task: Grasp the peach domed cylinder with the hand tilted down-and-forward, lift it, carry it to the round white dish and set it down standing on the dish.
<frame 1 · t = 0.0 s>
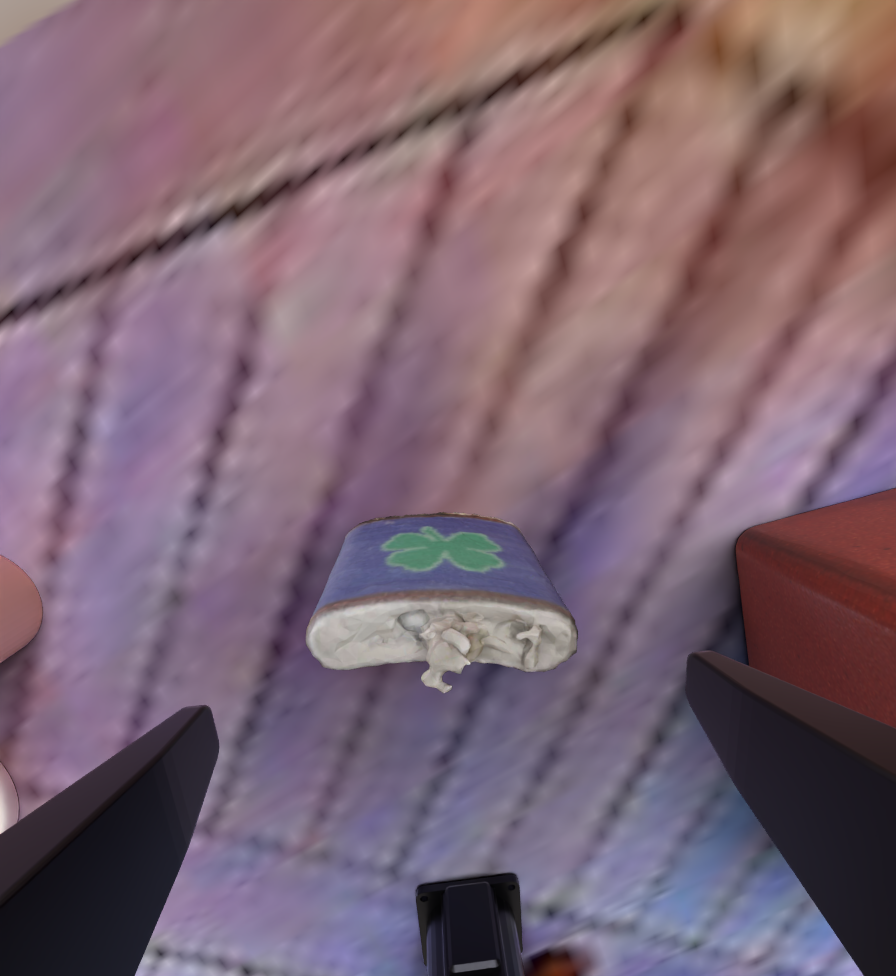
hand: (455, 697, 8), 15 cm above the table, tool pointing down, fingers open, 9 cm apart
flask: (436, 538, 24), on the table
plant pot: (845, 599, 26), on the table
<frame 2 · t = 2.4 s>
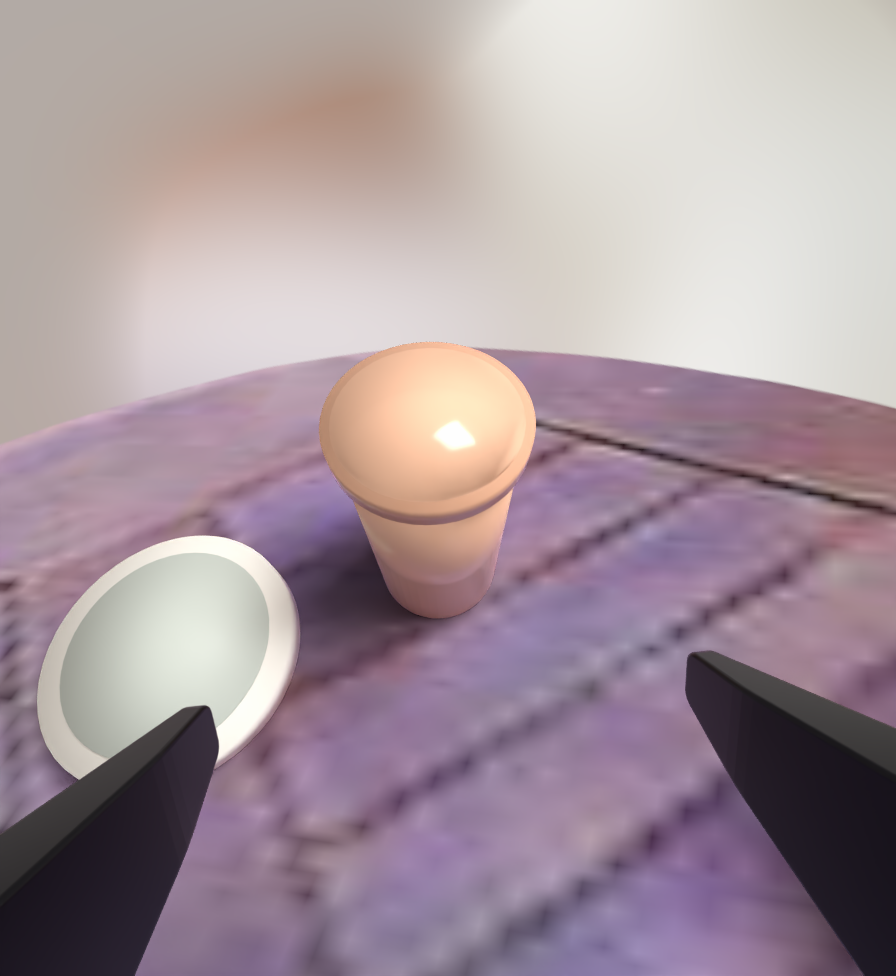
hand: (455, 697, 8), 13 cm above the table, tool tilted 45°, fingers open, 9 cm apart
peach domed cylinder: (438, 561, 24), on the table
round white dish: (185, 652, 22), on the table
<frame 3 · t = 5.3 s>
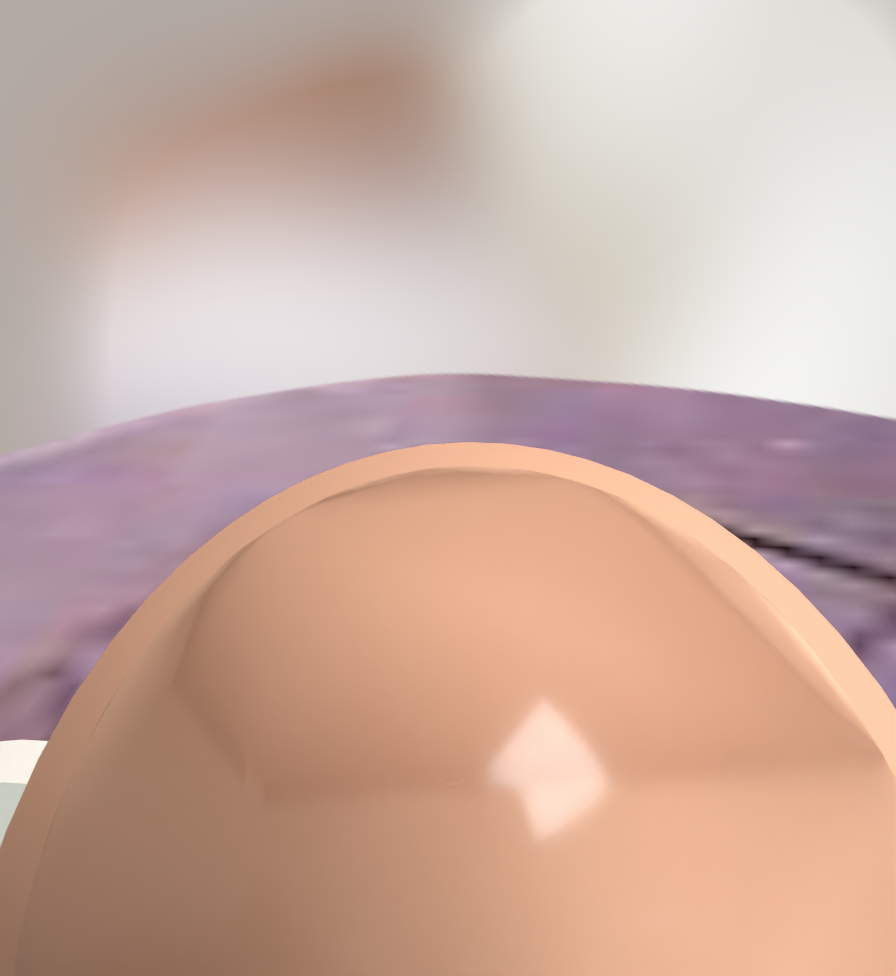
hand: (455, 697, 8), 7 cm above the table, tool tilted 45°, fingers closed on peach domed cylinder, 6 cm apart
peach domed cylinder: (459, 775, 13), on the table, touching gripper
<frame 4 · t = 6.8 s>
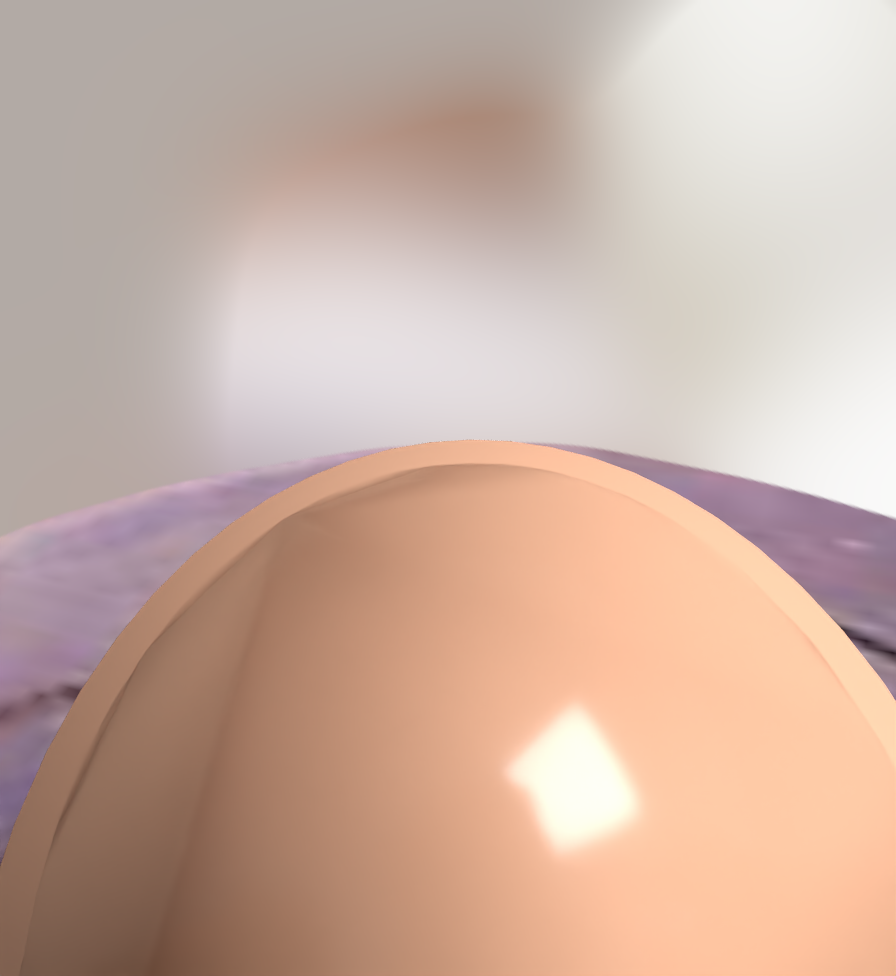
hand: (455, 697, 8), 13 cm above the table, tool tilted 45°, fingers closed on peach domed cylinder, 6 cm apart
peach domed cylinder: (460, 774, 13), point 7 cm above the table, touching gripper
when the fingers open (9 cm above the table, at t = 8.4 s): peach domed cylinder drops 1 cm, resting on round white dish.
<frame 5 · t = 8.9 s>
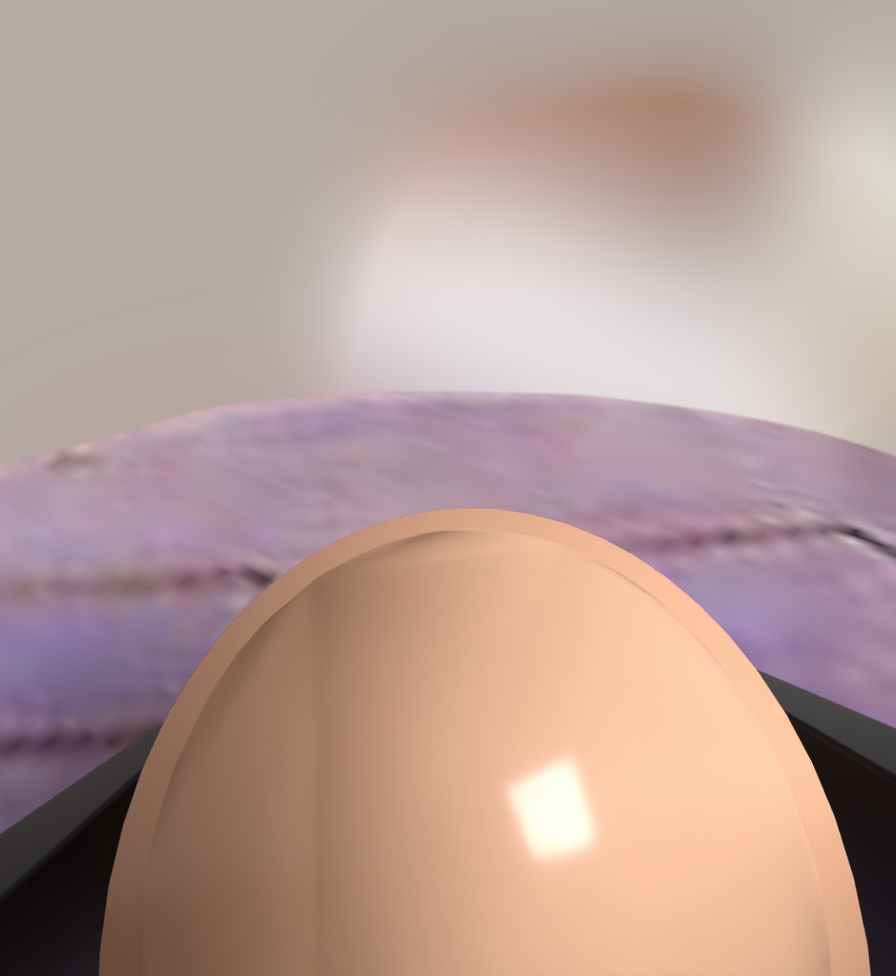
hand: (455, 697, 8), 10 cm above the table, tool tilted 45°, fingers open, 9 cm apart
peach domed cylinder: (459, 777, 15), point 2 cm above the table, touching round white dish
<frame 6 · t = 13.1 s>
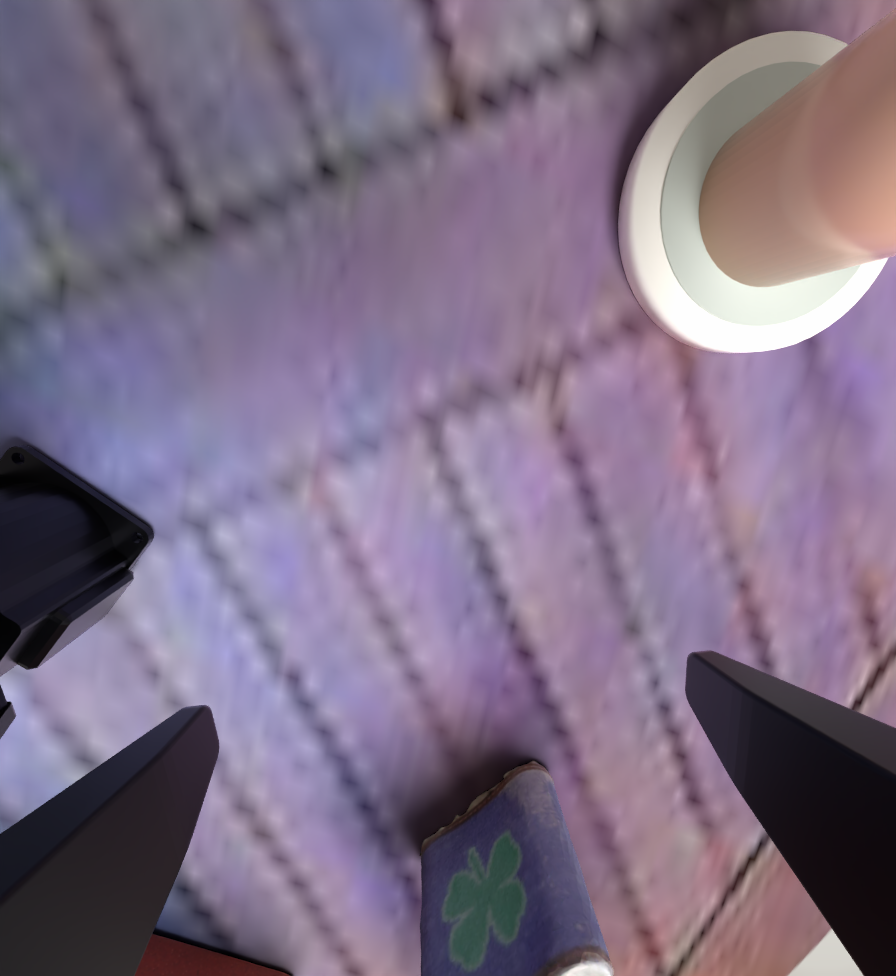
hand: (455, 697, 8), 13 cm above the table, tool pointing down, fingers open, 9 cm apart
flask: (484, 811, 26), on the table
peach domed cylinder: (774, 203, 17), point 2 cm above the table, touching round white dish
round white dish: (746, 216, 19), on the table
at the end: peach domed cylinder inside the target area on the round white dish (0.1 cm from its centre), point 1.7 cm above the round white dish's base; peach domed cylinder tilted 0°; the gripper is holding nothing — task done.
